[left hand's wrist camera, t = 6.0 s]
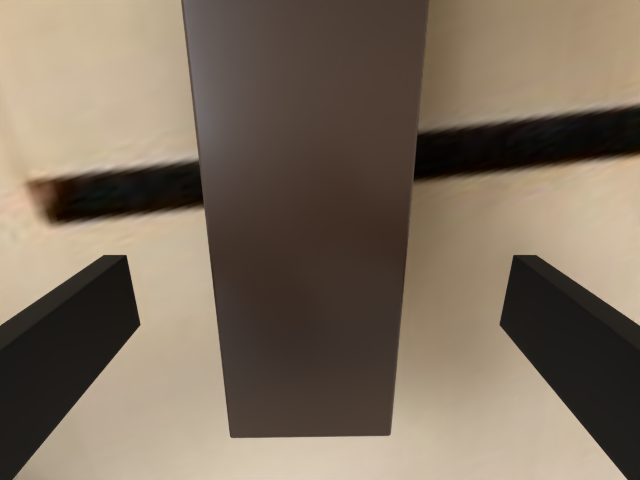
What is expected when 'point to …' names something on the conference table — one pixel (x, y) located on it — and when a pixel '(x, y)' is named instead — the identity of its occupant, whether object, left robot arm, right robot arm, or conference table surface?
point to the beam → (307, 202)
